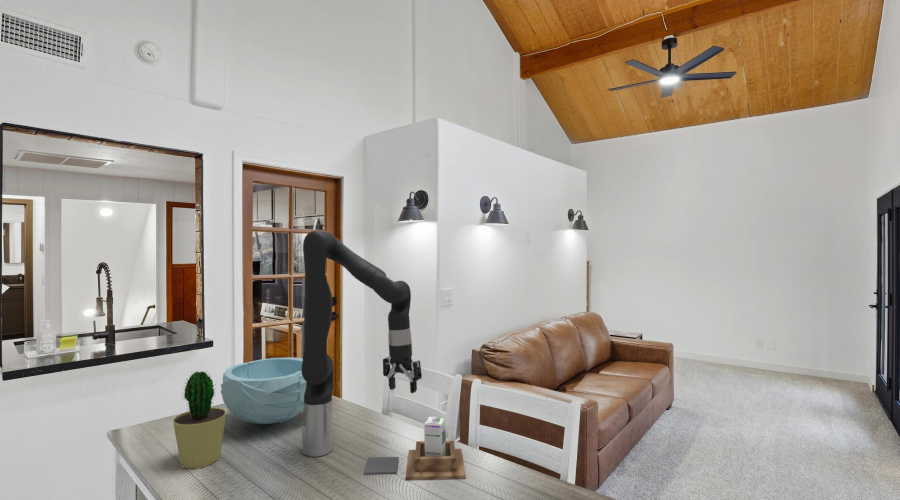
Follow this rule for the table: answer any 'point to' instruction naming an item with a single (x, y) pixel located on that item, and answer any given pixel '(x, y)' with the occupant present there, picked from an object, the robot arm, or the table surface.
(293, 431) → the table surface
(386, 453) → the table surface
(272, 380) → the bowl
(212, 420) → the potted cactus
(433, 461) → the collar stand
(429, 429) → the syrup box
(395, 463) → the felt pad
